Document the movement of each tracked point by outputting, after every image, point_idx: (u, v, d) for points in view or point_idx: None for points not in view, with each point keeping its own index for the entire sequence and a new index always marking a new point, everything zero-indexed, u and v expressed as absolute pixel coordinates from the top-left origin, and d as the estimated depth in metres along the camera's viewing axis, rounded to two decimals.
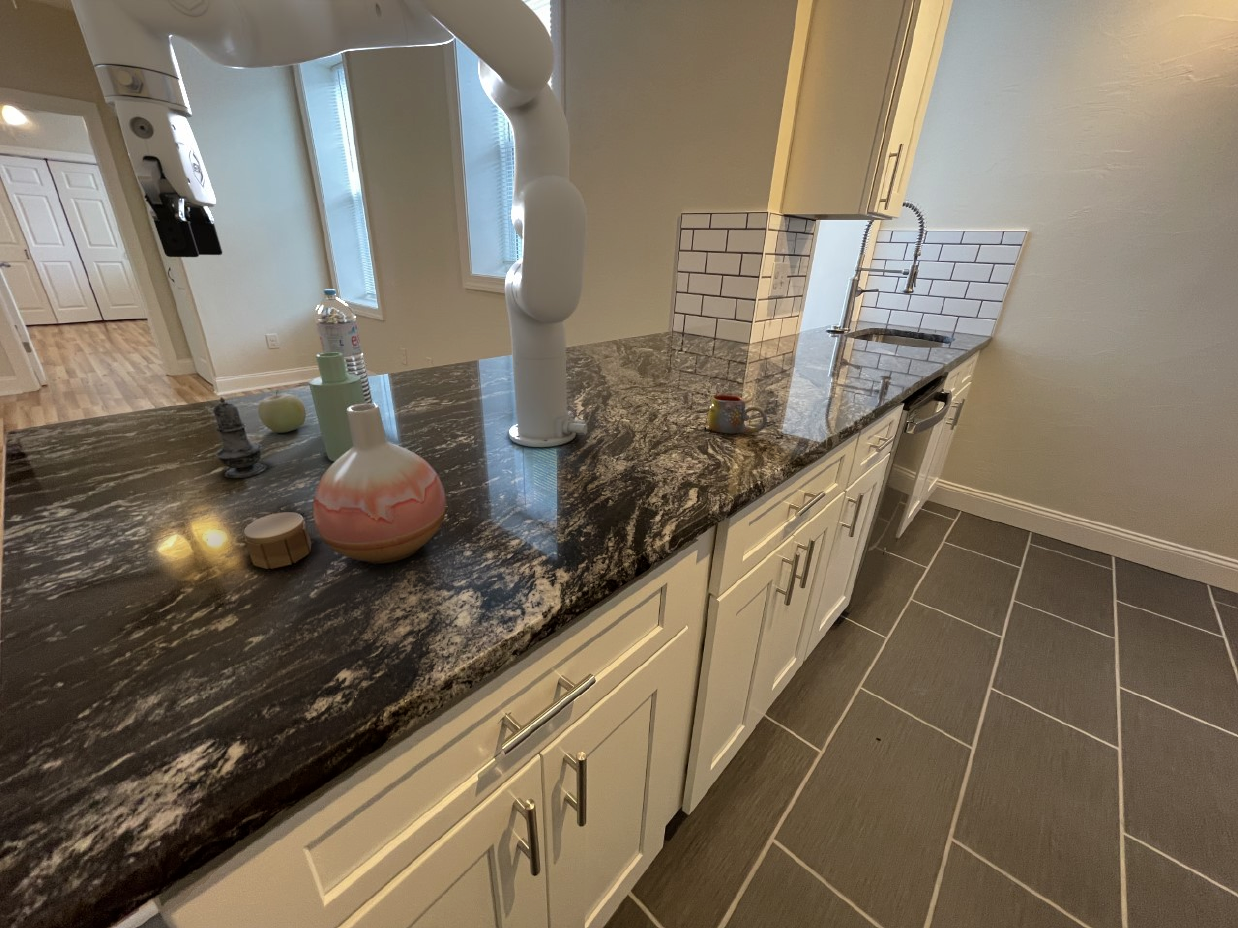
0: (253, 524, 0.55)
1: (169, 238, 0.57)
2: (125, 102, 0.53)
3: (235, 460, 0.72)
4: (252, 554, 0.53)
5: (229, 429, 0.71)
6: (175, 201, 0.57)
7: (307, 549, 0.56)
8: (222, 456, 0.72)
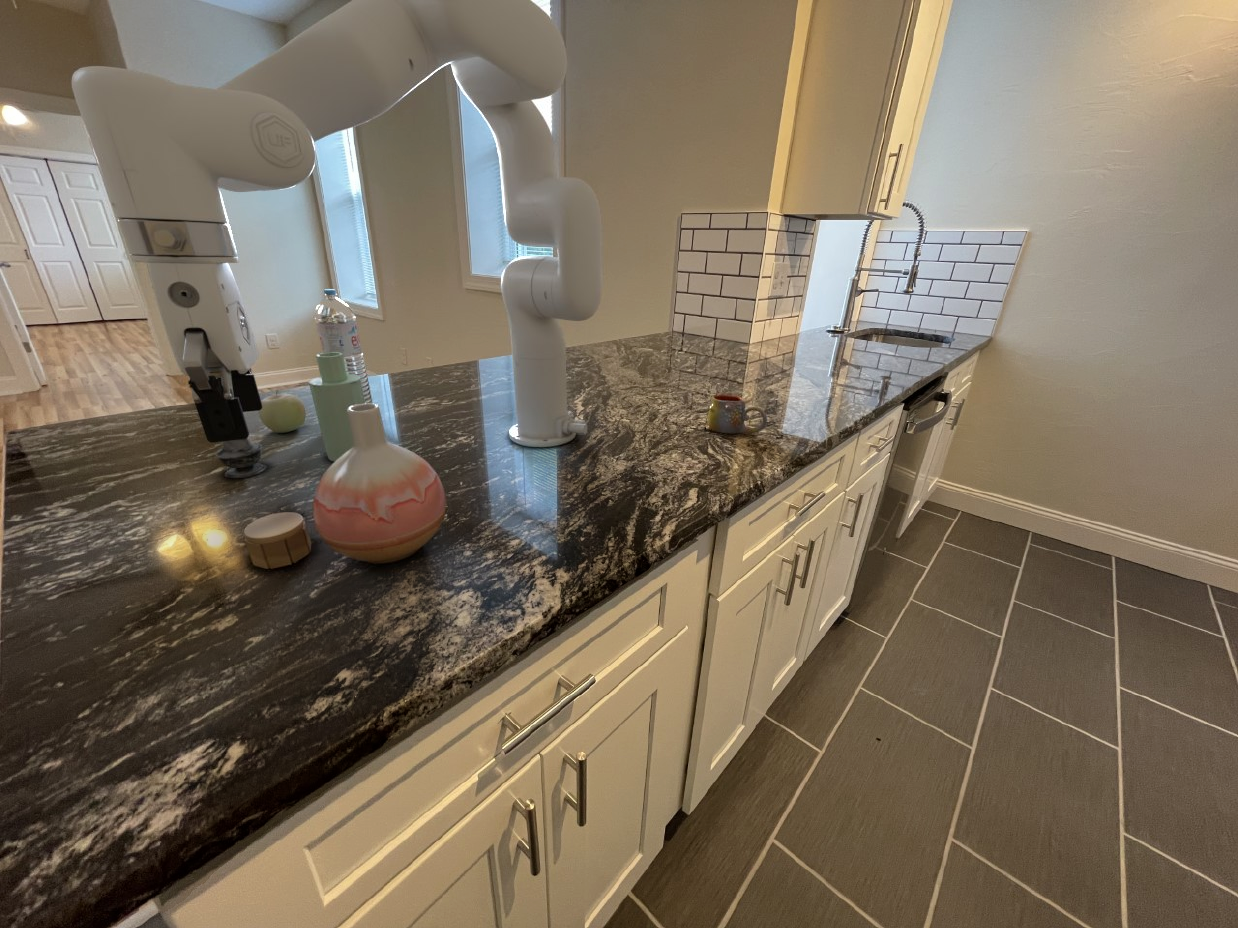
0: (253, 524, 0.55)
1: (215, 422, 0.45)
2: (163, 265, 0.40)
3: (235, 460, 0.72)
4: (252, 554, 0.53)
5: None
6: (223, 377, 0.44)
7: (307, 549, 0.56)
8: (222, 456, 0.72)
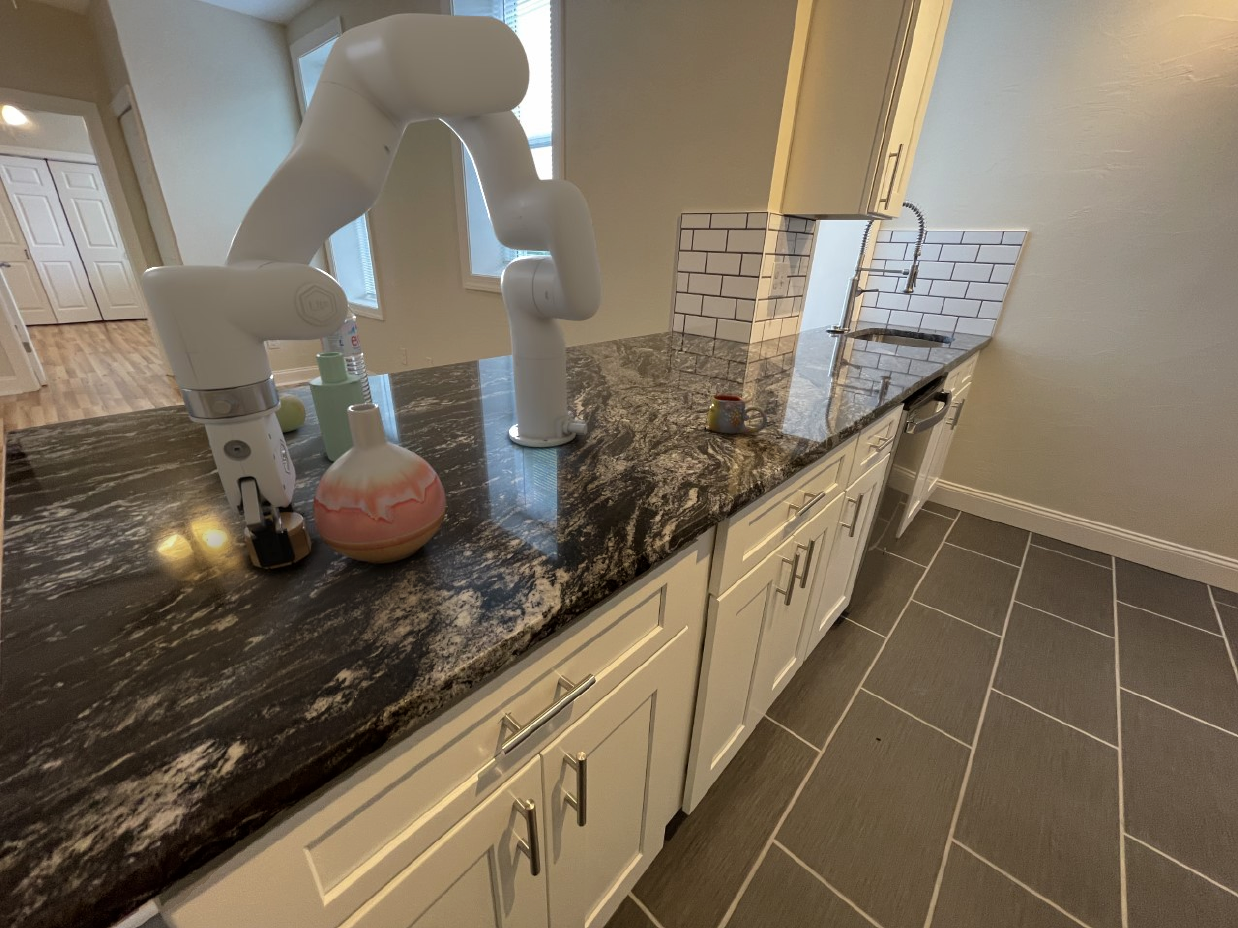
0: None
1: (268, 553, 0.52)
2: (219, 427, 0.45)
3: None
4: (252, 554, 0.53)
5: None
6: (274, 516, 0.51)
7: (307, 549, 0.56)
8: None
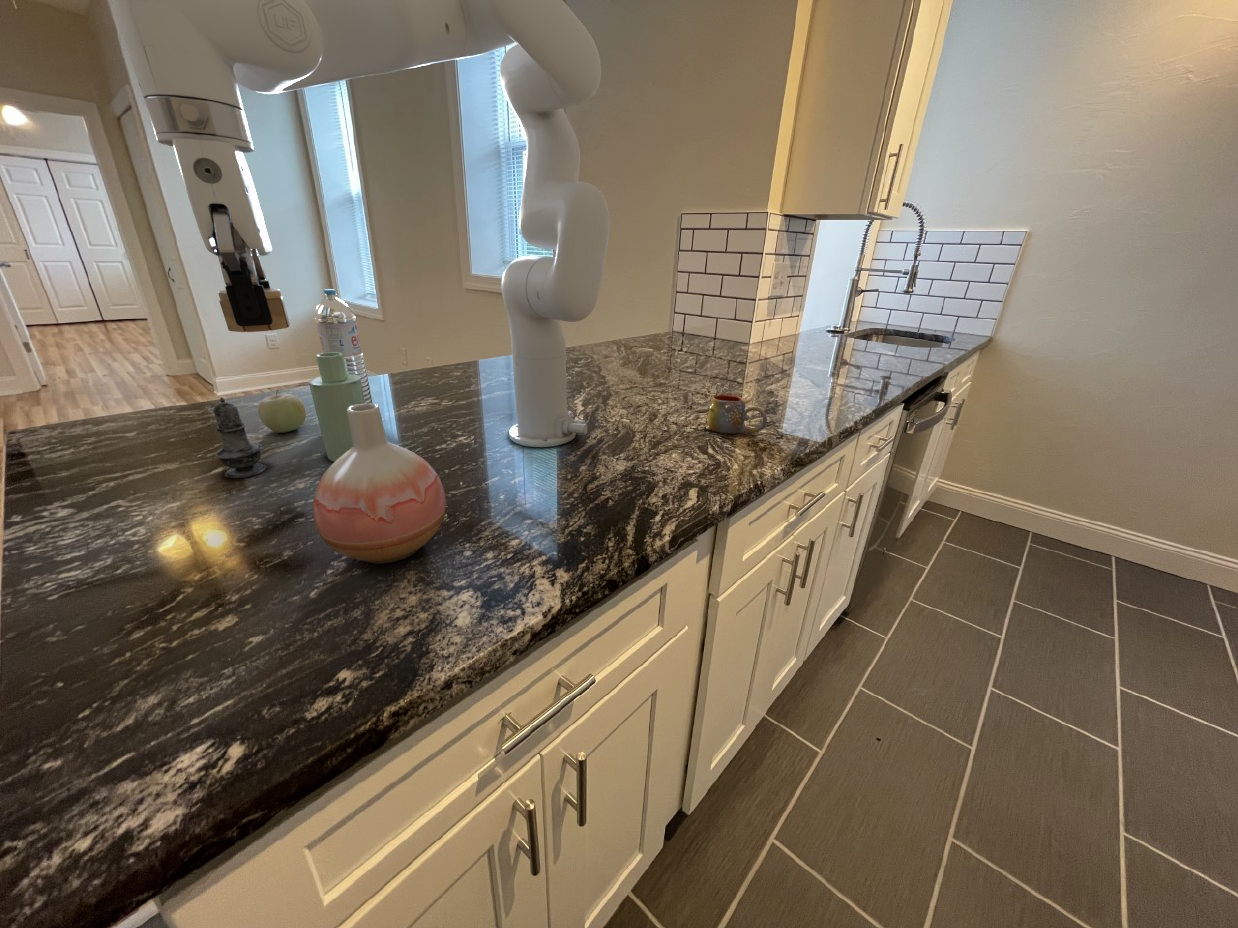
0: None
1: (243, 306, 0.50)
2: (188, 141, 0.44)
3: (235, 460, 0.72)
4: (227, 316, 0.52)
5: (229, 429, 0.71)
6: (249, 264, 0.49)
7: (285, 322, 0.55)
8: (222, 456, 0.72)
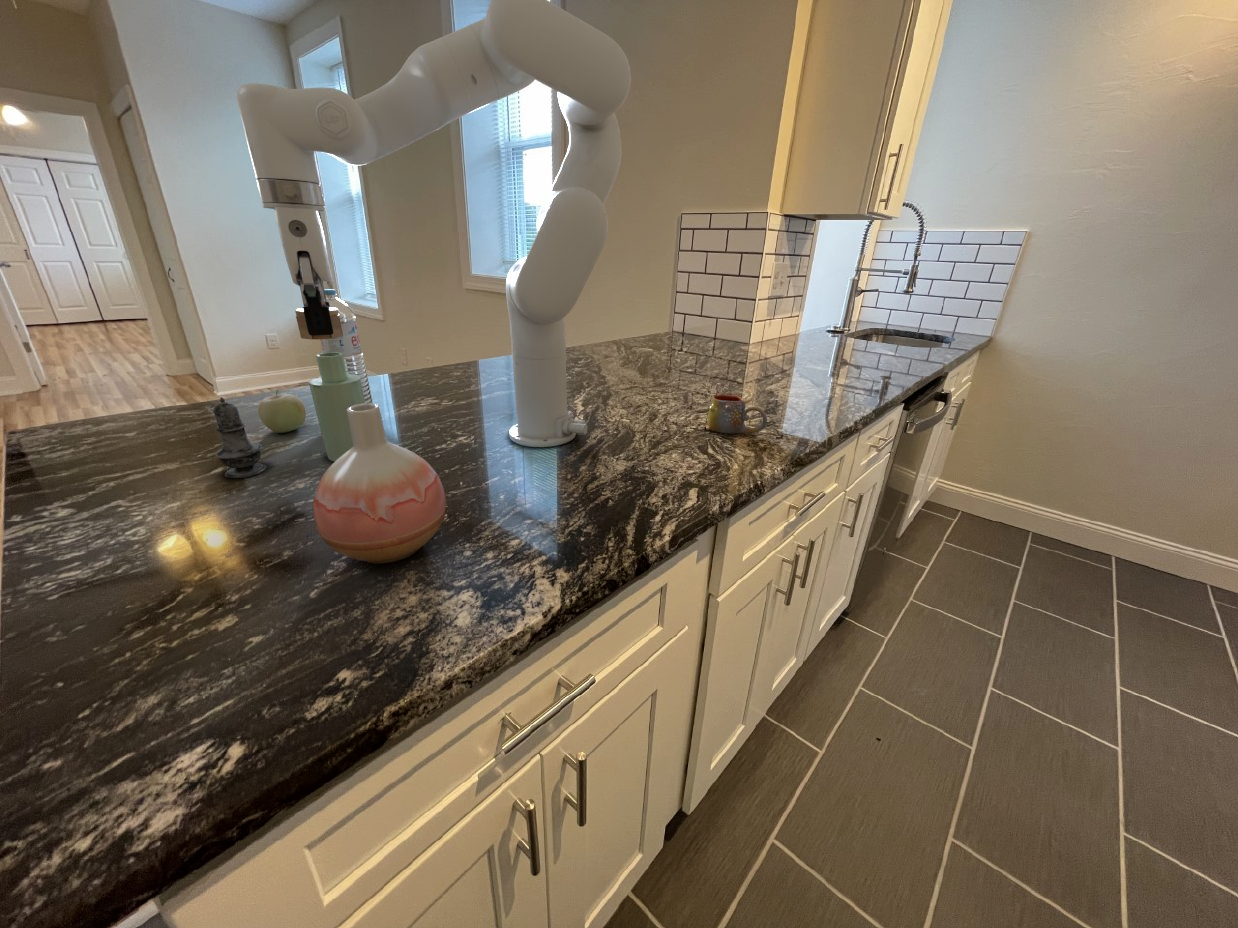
0: (301, 308, 0.73)
1: (314, 321, 0.70)
2: (286, 209, 0.64)
3: (235, 460, 0.72)
4: (301, 327, 0.72)
5: (229, 429, 0.71)
6: (320, 292, 0.69)
7: (341, 332, 0.74)
8: (222, 456, 0.72)
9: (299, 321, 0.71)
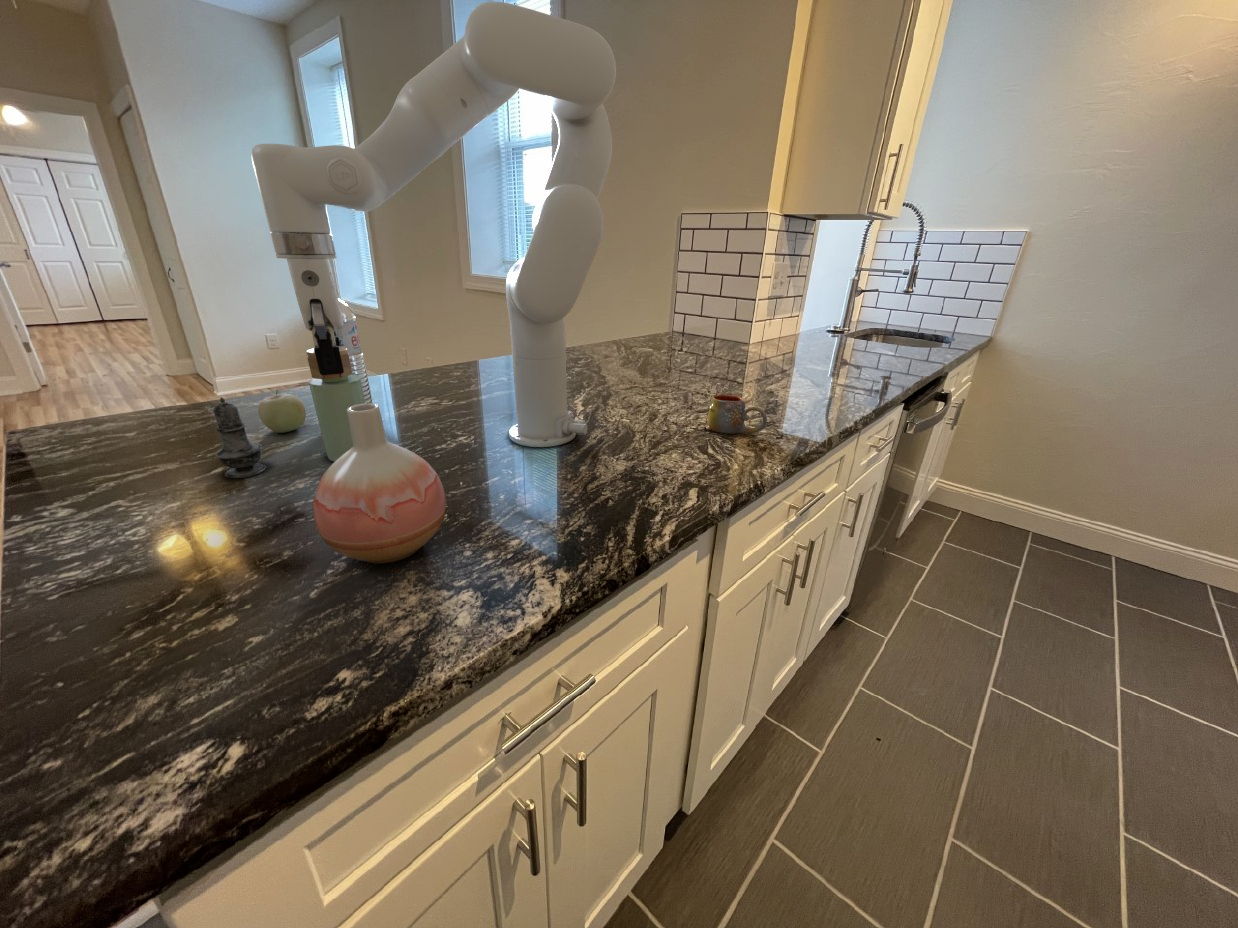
0: (312, 349, 0.75)
1: (325, 361, 0.71)
2: (299, 260, 0.66)
3: (235, 460, 0.72)
4: (312, 368, 0.74)
5: (229, 429, 0.71)
6: (331, 333, 0.71)
7: (350, 371, 0.77)
8: (222, 456, 0.72)
9: (310, 362, 0.74)
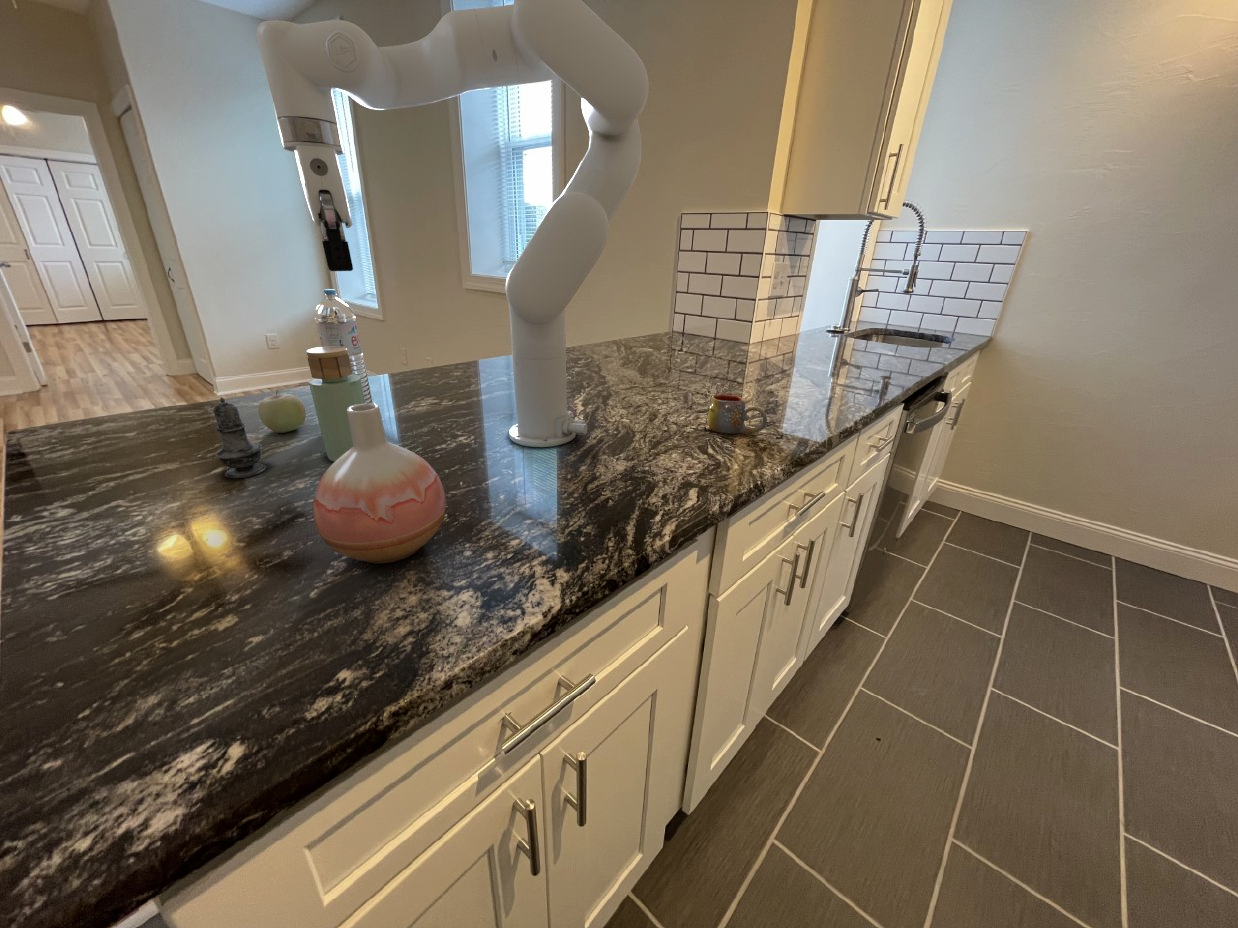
0: (312, 349, 0.75)
1: (335, 255, 0.70)
2: (307, 147, 0.65)
3: (235, 460, 0.72)
4: (312, 368, 0.74)
5: (229, 429, 0.71)
6: (340, 225, 0.69)
7: (350, 371, 0.77)
8: (222, 456, 0.72)
9: (310, 362, 0.74)
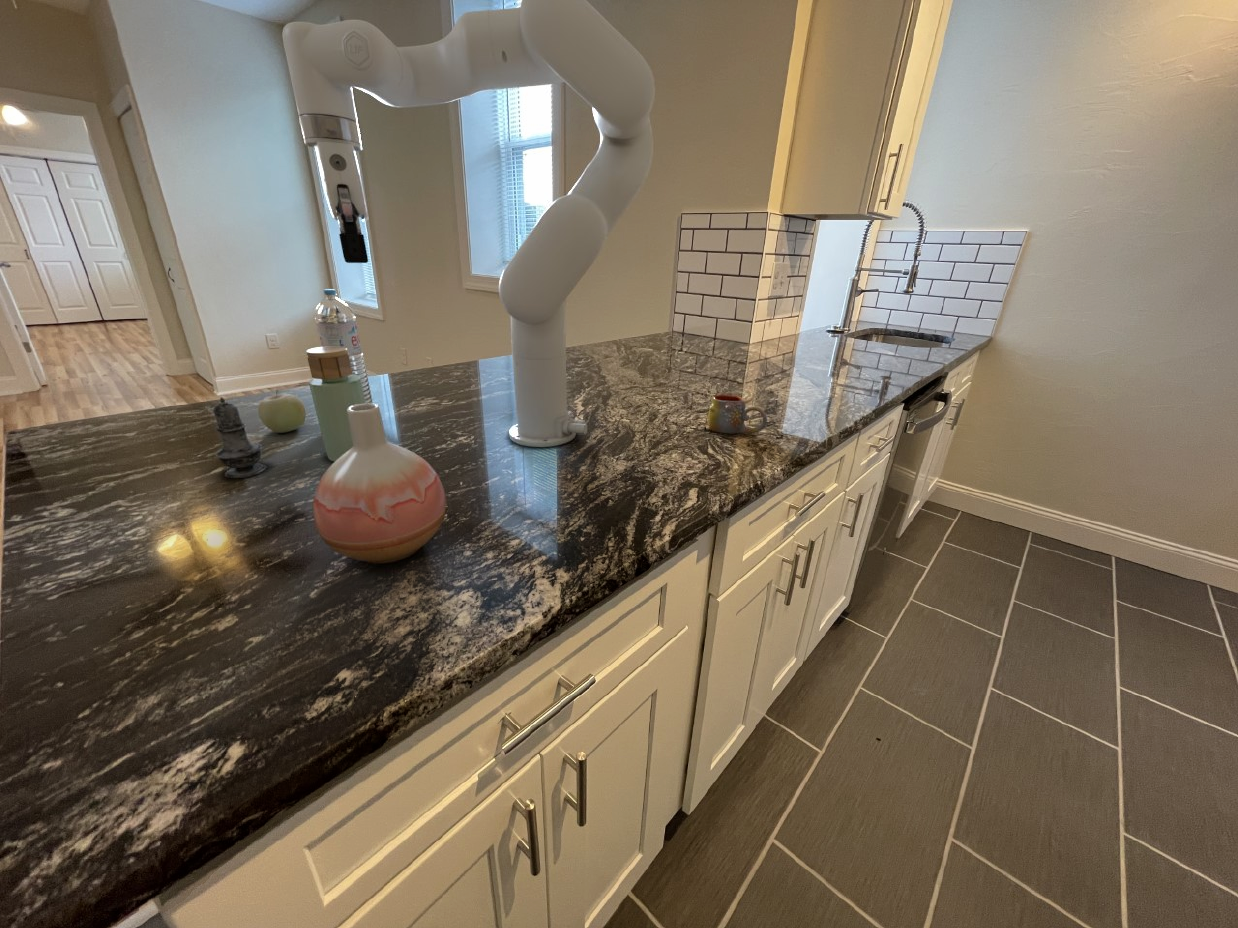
0: (312, 349, 0.75)
1: (351, 248, 0.72)
2: (327, 143, 0.68)
3: (235, 460, 0.72)
4: (312, 368, 0.74)
5: (229, 429, 0.71)
6: (356, 219, 0.72)
7: (350, 371, 0.77)
8: (222, 456, 0.72)
9: (310, 362, 0.74)
